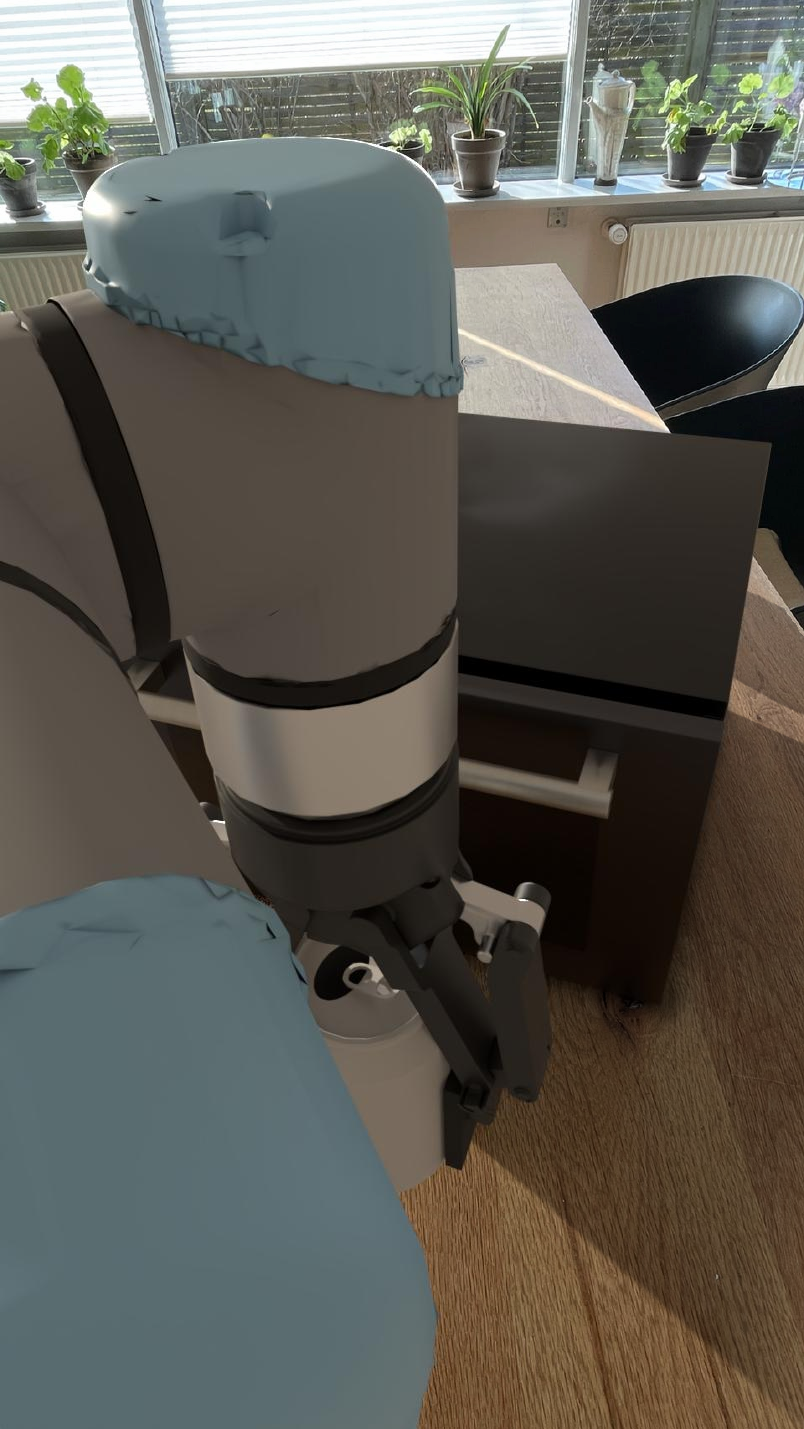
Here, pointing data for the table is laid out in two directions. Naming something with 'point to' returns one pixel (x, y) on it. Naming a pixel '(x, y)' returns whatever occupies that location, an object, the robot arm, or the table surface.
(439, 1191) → the table surface
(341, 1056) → the can
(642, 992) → the oven door
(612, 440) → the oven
